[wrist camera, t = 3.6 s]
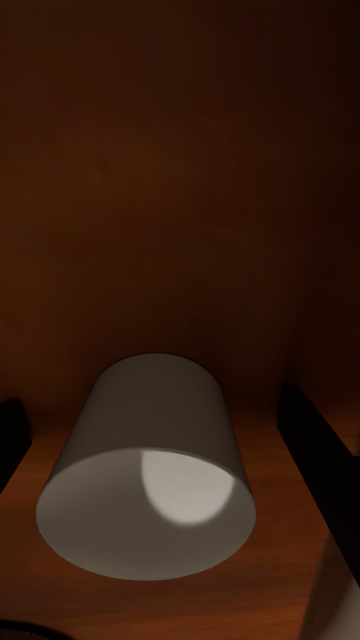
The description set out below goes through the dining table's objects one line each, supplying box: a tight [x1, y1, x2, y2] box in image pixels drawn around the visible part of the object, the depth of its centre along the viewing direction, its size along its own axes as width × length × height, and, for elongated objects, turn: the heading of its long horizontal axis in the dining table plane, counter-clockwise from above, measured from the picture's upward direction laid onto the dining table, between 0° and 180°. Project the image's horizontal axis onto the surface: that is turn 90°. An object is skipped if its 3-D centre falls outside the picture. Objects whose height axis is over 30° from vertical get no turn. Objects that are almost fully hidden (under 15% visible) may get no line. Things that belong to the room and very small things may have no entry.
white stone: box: [36, 353, 256, 580], centre depth 10 cm, size 7×7×5 cm
